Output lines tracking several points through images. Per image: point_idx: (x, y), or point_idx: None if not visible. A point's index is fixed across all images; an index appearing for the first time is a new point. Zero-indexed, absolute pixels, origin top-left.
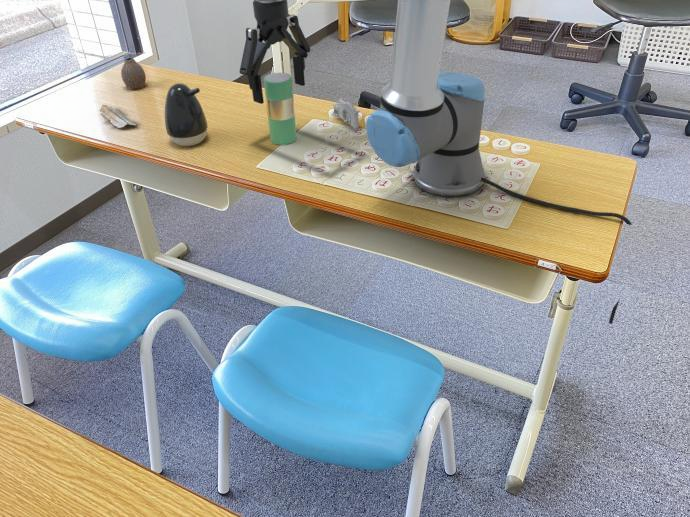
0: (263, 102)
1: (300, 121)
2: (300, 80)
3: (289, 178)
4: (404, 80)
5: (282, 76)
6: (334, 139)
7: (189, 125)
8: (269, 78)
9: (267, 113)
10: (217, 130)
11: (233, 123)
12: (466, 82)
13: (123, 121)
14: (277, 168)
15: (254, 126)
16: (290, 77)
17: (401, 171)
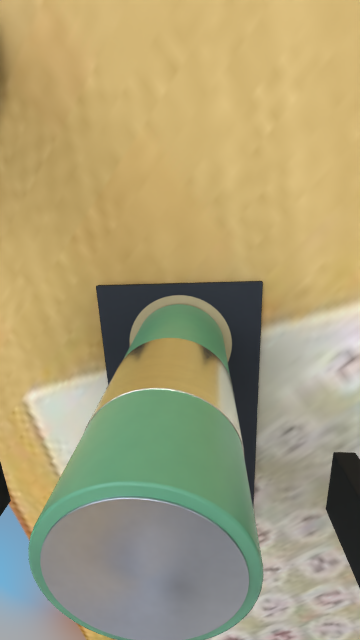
0: (7, 502)
1: (332, 276)
2: (341, 525)
3: None
4: None
5: (183, 593)
6: (283, 447)
7: None
8: (78, 550)
9: (115, 372)
10: (64, 58)
11: (152, 52)
12: None
13: None
14: (63, 439)
15: (192, 163)
16: (215, 631)
17: (243, 622)
